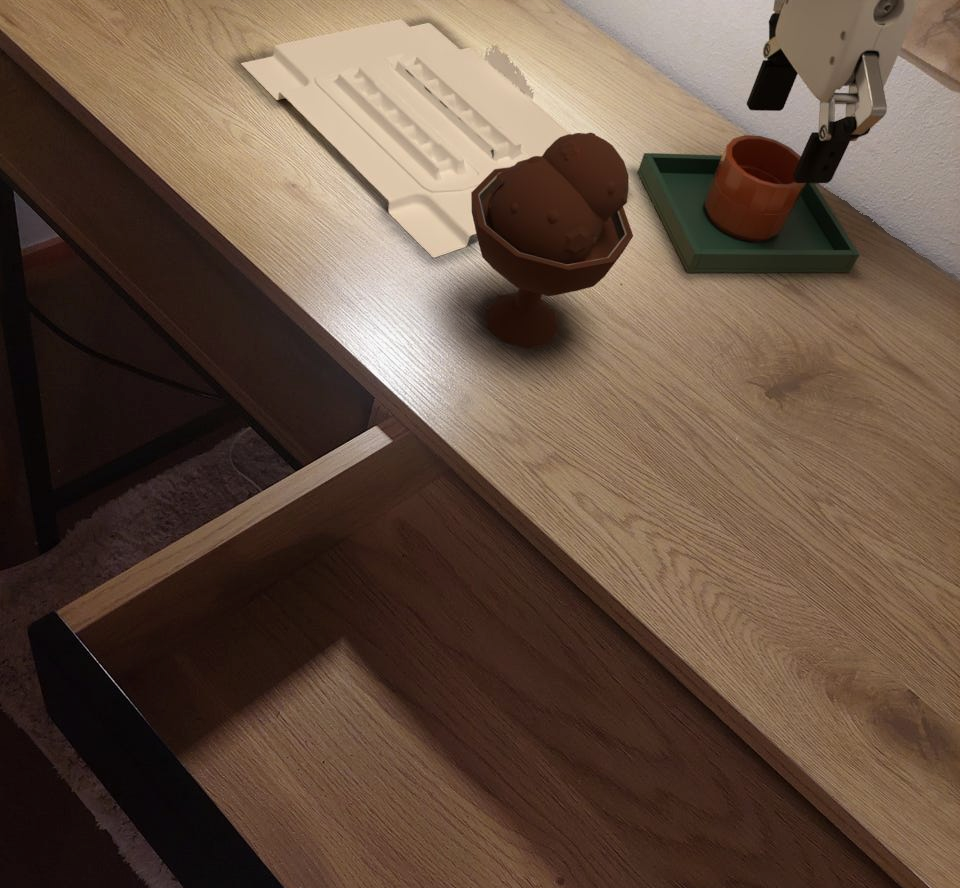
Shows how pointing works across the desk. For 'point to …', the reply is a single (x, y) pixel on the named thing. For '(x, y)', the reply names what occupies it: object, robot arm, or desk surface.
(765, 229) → the small cup
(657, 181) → the green tray
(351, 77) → the tray
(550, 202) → the ice cream bowl
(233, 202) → the desk surface
